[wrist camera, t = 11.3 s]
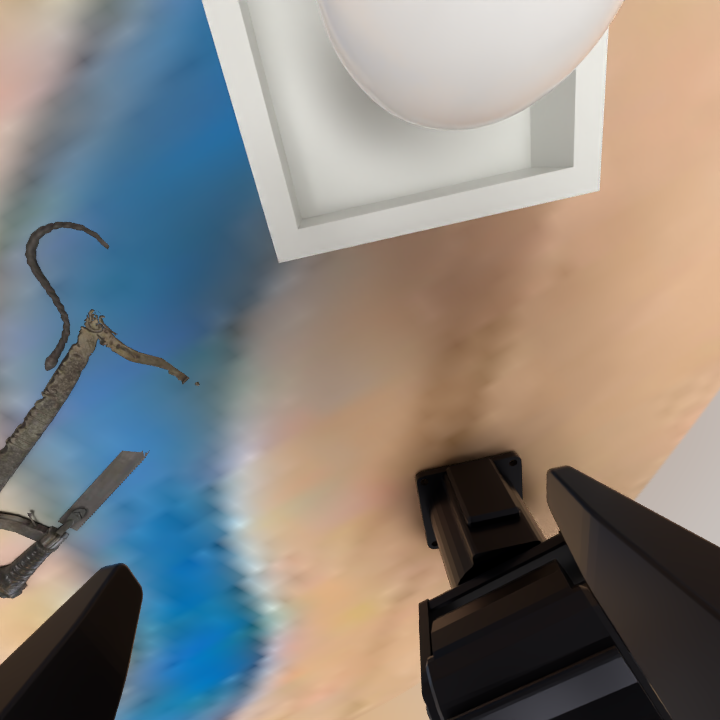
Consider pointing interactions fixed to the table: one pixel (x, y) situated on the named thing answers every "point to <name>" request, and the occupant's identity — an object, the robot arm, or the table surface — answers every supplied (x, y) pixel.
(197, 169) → the table surface
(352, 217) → the tray
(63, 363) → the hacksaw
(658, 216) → the table surface
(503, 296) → the table surface
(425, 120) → the lightbulb
